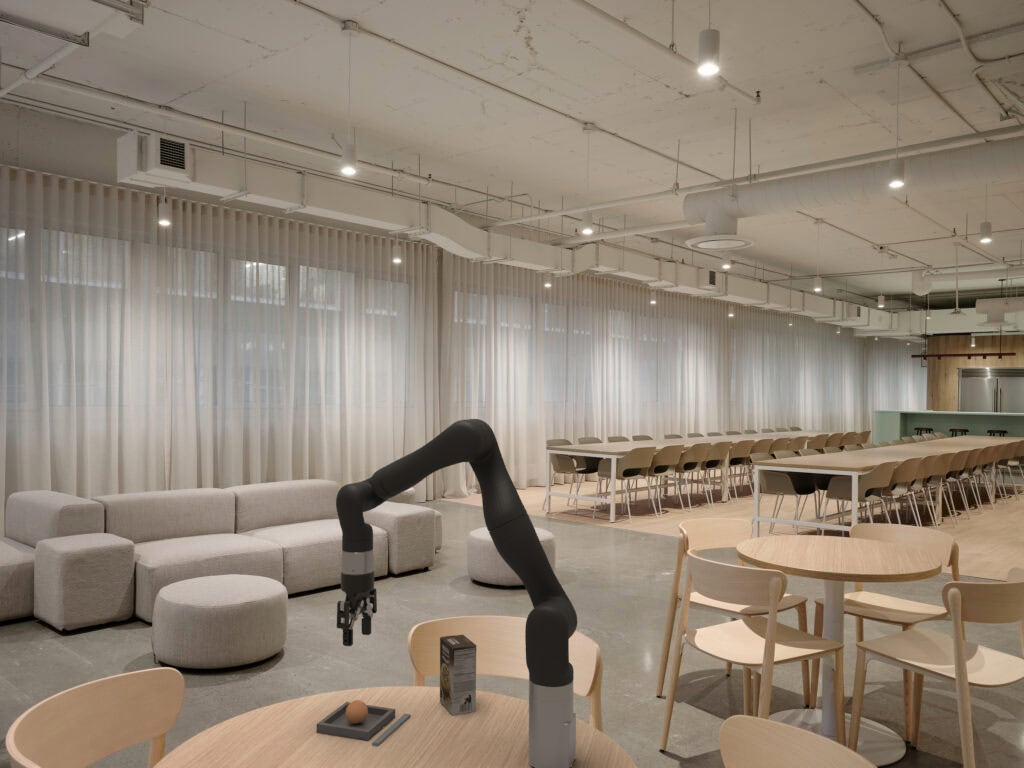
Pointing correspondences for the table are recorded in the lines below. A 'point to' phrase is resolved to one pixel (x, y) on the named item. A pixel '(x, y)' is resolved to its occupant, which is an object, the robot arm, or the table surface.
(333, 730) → the tray
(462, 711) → the coffee box
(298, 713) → the table surface
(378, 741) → the distance line
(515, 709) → the table surface
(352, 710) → the ball
